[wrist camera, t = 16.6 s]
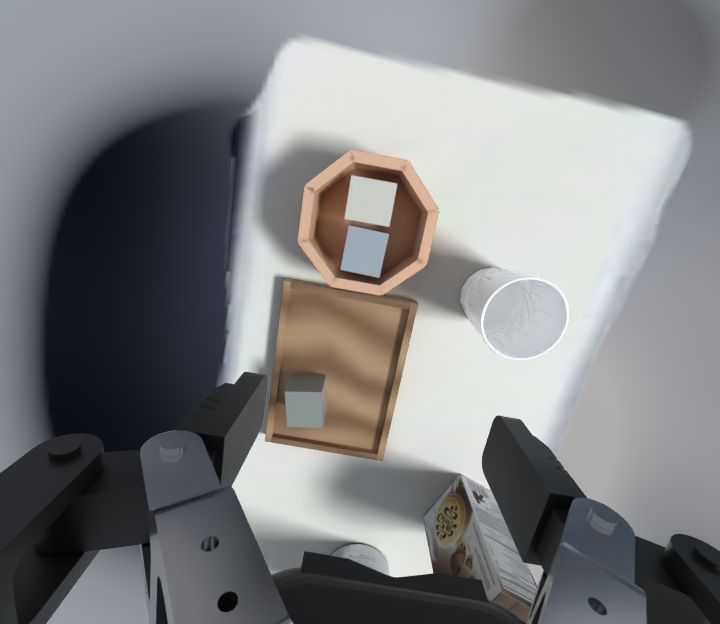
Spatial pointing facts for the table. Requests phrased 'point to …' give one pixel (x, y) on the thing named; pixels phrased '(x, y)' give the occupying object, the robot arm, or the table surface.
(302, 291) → the walnut tray
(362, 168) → the terracotta bowl
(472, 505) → the coffee box
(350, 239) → the pale blue cube
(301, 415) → the medium grey cube
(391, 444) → the table surface
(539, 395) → the table surface
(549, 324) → the white cup
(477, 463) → the table surface
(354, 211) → the pale grey cube
